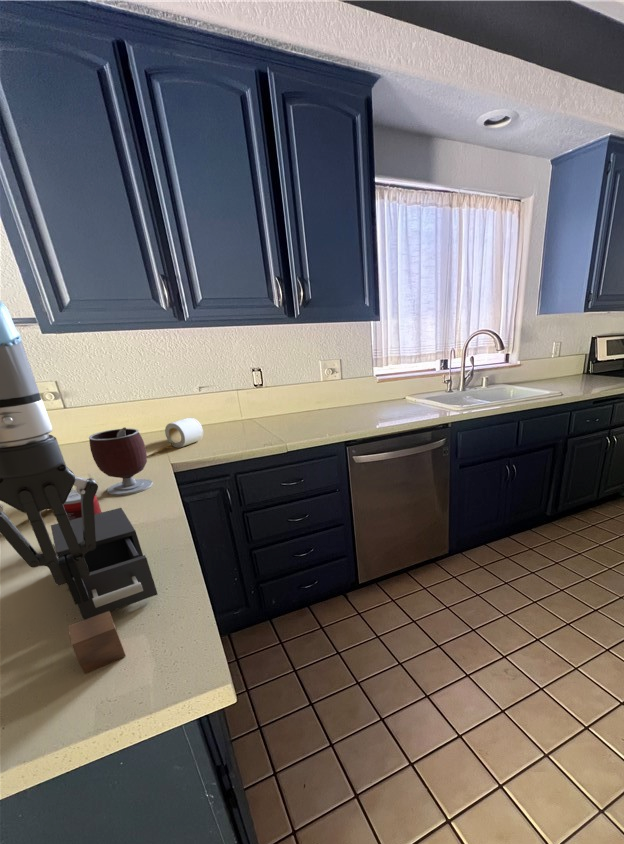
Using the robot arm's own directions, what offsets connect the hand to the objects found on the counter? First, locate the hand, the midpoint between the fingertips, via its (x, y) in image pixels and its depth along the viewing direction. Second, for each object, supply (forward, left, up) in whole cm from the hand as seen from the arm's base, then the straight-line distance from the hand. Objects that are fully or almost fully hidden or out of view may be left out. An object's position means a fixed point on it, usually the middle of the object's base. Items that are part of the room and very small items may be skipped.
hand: (81, 598), depth 62 cm
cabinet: (-16, +24, -11) cm, 31 cm away
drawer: (-6, +13, -10) cm, 18 cm away
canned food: (-30, +38, -11) cm, 49 cm away
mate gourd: (-40, +69, -11) cm, 81 cm away
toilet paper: (-47, +119, -11) cm, 128 cm away
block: (0, 0, -11) cm, 11 cm away
